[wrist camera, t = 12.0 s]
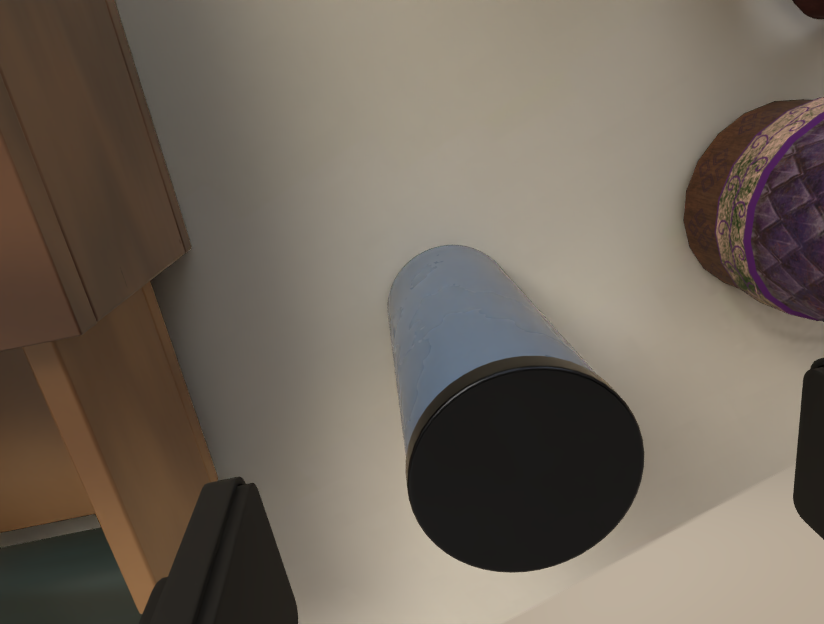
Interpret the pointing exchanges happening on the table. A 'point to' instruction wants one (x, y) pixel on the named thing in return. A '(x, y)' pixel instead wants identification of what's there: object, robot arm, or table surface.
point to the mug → (764, 206)
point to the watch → (811, 8)
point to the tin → (503, 420)
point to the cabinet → (76, 172)
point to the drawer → (97, 468)
